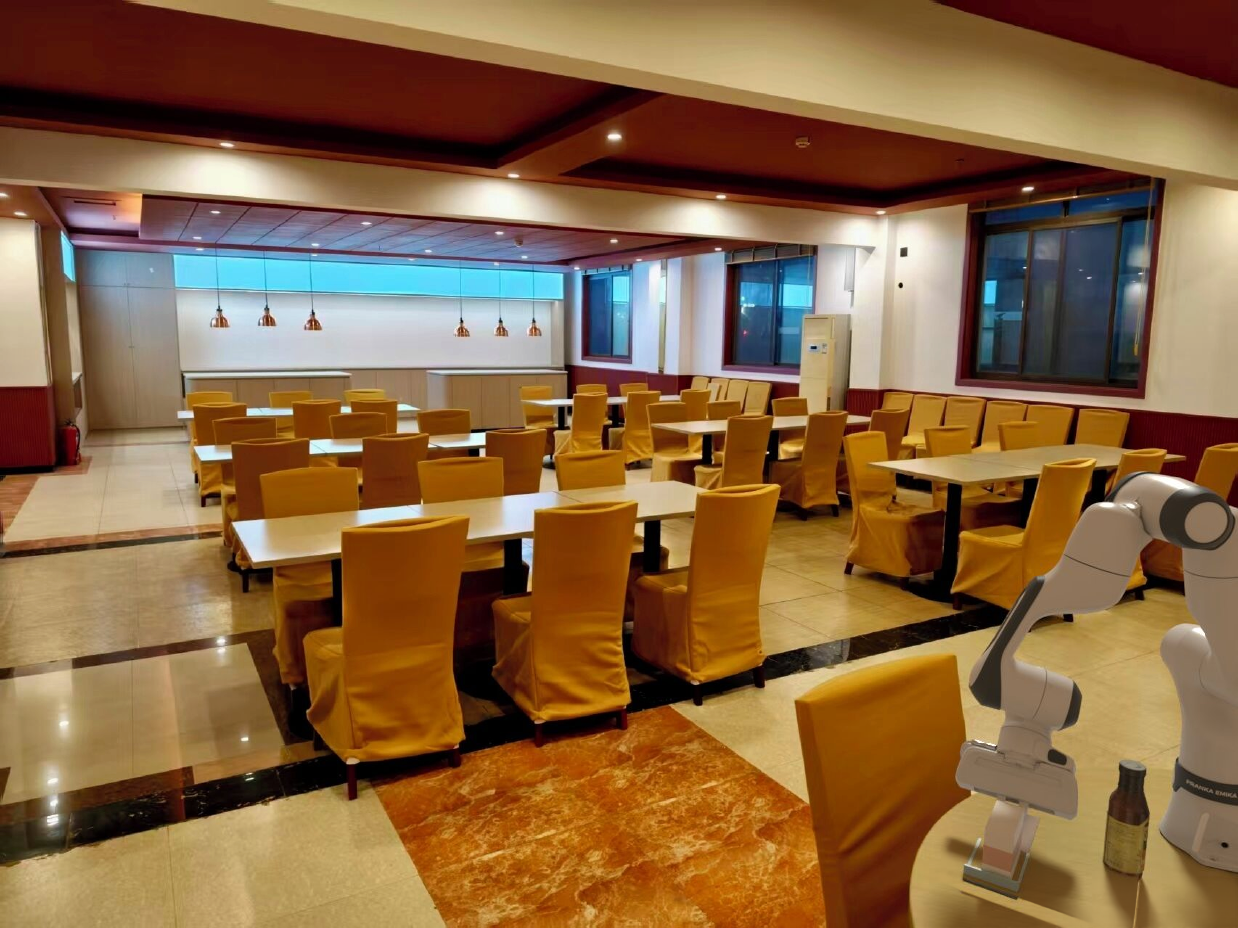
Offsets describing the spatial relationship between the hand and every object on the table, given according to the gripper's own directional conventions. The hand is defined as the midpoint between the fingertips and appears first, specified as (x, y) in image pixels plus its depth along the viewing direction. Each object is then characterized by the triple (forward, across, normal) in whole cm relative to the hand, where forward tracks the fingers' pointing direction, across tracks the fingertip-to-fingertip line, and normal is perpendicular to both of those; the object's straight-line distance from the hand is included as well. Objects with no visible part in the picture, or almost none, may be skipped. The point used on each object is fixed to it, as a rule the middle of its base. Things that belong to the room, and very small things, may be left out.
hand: (1008, 825), depth 151 cm
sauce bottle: (-1, +18, +9) cm, 20 cm away
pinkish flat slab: (-1, 0, +10) cm, 10 cm away
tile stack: (+8, 0, 0) cm, 8 cm away
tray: (+8, 0, 0) cm, 8 cm away
